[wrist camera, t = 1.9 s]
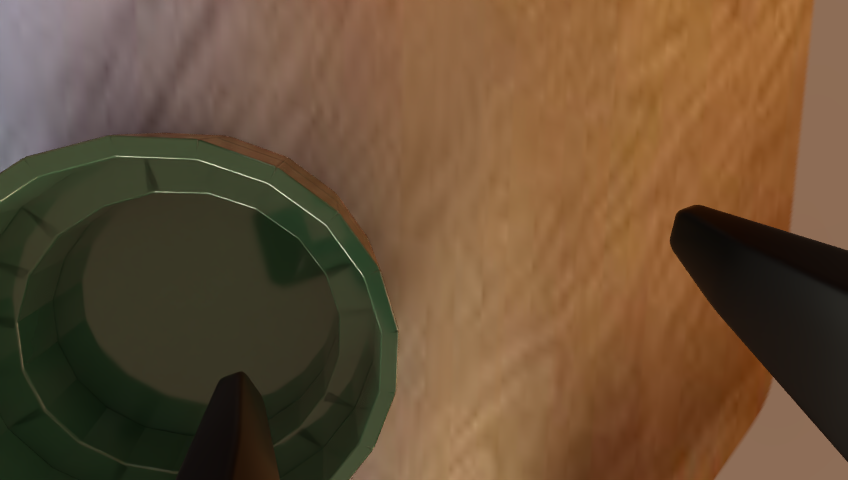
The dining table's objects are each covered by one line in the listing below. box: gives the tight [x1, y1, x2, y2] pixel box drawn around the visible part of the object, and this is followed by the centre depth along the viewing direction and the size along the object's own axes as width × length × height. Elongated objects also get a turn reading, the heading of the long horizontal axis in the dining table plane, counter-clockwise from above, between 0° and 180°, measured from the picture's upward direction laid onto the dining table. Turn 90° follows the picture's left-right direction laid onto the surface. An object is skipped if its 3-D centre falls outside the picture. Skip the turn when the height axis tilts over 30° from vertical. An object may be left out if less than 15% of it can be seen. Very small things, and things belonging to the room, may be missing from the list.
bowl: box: [0, 133, 399, 480], centre depth 18 cm, size 14×14×5 cm
